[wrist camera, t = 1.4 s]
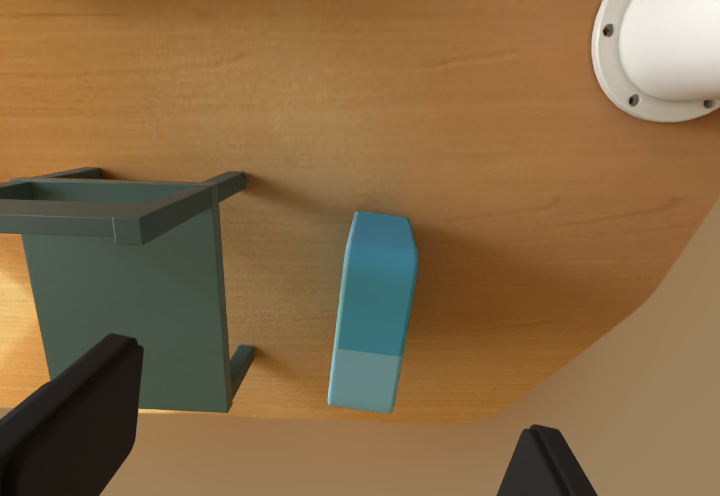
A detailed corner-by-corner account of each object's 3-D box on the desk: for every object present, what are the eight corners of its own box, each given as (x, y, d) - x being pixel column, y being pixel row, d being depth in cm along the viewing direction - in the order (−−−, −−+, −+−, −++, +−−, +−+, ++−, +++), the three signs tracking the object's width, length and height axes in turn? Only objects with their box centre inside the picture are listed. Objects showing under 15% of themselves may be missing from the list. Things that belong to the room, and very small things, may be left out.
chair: (245, 170, 38) (141, 215, 21) (255, 359, 43) (177, 513, 27) (83, 165, 38) (-142, 206, 22) (112, 353, 43) (-51, 500, 27)
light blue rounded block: (388, 338, 42) (391, 424, 30) (340, 332, 42) (325, 415, 30) (408, 213, 38) (420, 257, 27) (356, 206, 38) (345, 247, 27)
